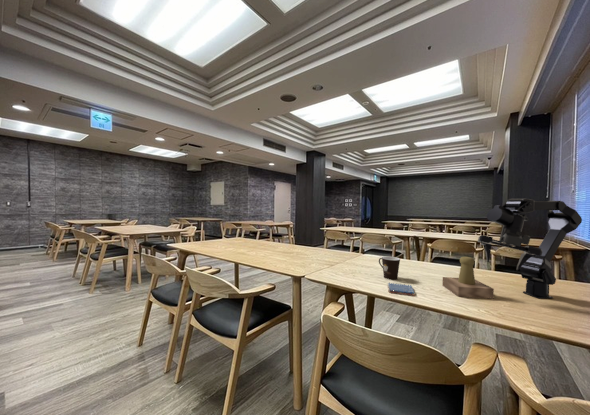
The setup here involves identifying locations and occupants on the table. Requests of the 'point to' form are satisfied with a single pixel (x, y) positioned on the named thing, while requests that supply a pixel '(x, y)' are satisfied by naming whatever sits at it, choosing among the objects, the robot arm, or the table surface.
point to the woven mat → (401, 289)
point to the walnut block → (468, 288)
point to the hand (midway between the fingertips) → (502, 265)
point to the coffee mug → (390, 267)
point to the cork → (467, 271)
